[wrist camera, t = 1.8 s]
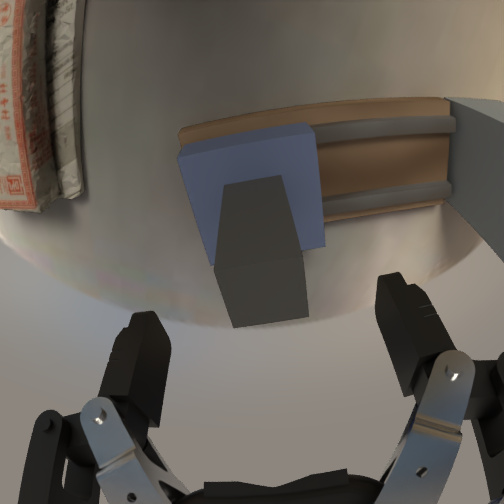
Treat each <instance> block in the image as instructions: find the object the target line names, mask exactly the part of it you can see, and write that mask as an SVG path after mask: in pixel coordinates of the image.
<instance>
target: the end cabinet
mask: <svg viewBox="0 0 504 504" xmlns="http://www.w3.org/2000/svg"><path fill="white" fill-rule="evenodd" d="M444 100H447V101H450V116H452V117H454V118H456V132H450V135H449V156H448V170H447V181H448V182H449V183H450V184H452V190H451V197H447V198H445V200H446V201H447V202H448V203H450V204H451V205H452V206H453V207H454V208H455V209H456V210H457V211H458V212H459V214H460V215H461V216H462V217H463V218H464V219H465V220H466V221H467V222H468V223H469V224H470V225H471V226H472V227H473V228H474V229H475V230H476V231H477V232H478V234H479V235H480V236H481V237H482V238H483V239H484V240H485V241H486V242H487V244H488V245H489V246H490V247H491V248H492V249H493V250H494V252H495V253H496V254H497V255H498V256H499V258H500V259H501V260H502V261H503V262H504V102H501V101H498V100H487V99H472V98H449V97H444Z"/></svg>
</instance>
